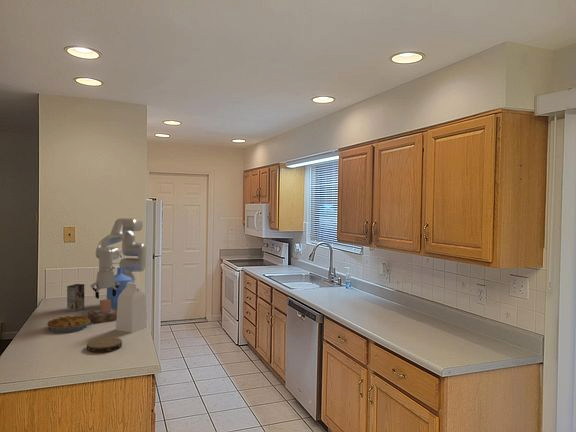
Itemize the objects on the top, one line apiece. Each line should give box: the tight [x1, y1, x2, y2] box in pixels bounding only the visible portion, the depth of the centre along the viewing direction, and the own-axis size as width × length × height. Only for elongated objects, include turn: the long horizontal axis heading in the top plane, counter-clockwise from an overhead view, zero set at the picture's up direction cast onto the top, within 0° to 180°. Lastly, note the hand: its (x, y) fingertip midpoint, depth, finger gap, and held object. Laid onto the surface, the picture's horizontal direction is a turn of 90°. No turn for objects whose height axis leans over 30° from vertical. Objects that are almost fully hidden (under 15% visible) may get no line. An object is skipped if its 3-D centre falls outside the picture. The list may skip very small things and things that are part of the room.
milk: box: [115, 282, 148, 334], centre depth 248 cm, size 12×12×26 cm
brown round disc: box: [86, 336, 123, 354], centre depth 216 cm, size 16×16×3 cm
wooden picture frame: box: [87, 308, 117, 324], centre depth 268 cm, size 16×14×4 cm
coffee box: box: [66, 283, 85, 312], centre depth 288 cm, size 9×6×16 cm
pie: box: [46, 315, 91, 333], centre depth 248 cm, size 22×22×5 cm
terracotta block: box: [99, 298, 111, 313], centre depth 267 cm, size 5×5×7 cm
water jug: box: [106, 267, 132, 309], centre depth 288 cm, size 16×16×28 cm
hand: (105, 297), depth 268 cm, fingers open, 9 cm apart
